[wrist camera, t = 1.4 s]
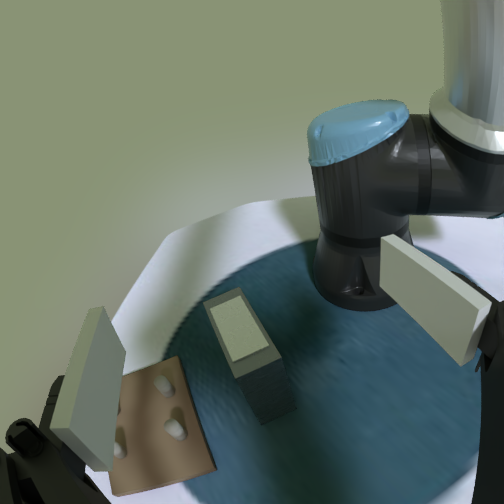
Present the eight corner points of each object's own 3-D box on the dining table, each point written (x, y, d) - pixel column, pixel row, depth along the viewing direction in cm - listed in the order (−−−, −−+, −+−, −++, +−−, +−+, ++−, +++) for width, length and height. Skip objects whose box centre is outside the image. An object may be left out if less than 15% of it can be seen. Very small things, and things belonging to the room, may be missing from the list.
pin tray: (180, 359, 38) (169, 343, 36) (217, 470, 25) (204, 461, 23) (103, 389, 36) (88, 374, 34) (117, 496, 23) (98, 488, 21)
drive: (260, 345, 37) (238, 285, 32) (296, 408, 29) (281, 355, 24) (230, 358, 37) (202, 301, 31) (261, 425, 29) (234, 377, 23)
